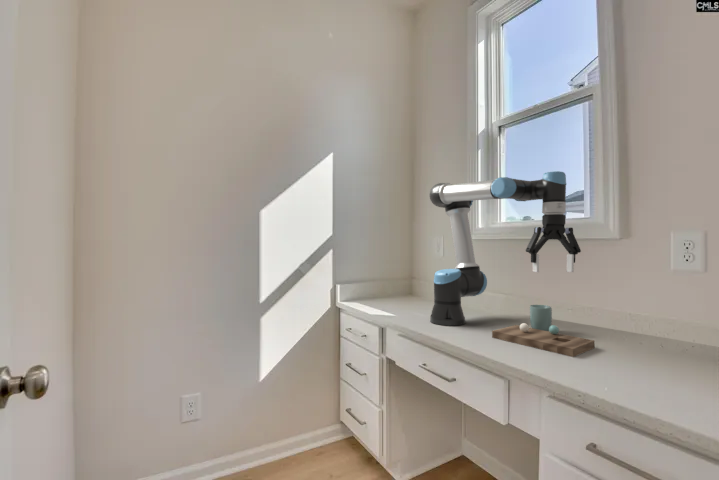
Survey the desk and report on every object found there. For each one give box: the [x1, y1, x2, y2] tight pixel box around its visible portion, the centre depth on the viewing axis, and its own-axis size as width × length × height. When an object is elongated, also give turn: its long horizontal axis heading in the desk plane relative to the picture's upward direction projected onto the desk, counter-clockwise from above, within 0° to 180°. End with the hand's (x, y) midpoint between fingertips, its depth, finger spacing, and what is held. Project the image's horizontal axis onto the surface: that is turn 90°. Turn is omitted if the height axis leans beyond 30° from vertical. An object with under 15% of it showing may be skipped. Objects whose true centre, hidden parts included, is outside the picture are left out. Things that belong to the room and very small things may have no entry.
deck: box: [491, 324, 596, 358], centre depth 125 cm, size 28×16×2 cm, turn 36°
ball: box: [519, 322, 530, 332], centre depth 130 cm, size 3×3×3 cm
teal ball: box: [549, 324, 560, 334], centre depth 126 cm, size 3×3×3 cm
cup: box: [529, 304, 553, 332], centre depth 141 cm, size 8×8×10 cm
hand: (552, 271), depth 130 cm, fingers open, 13 cm apart
